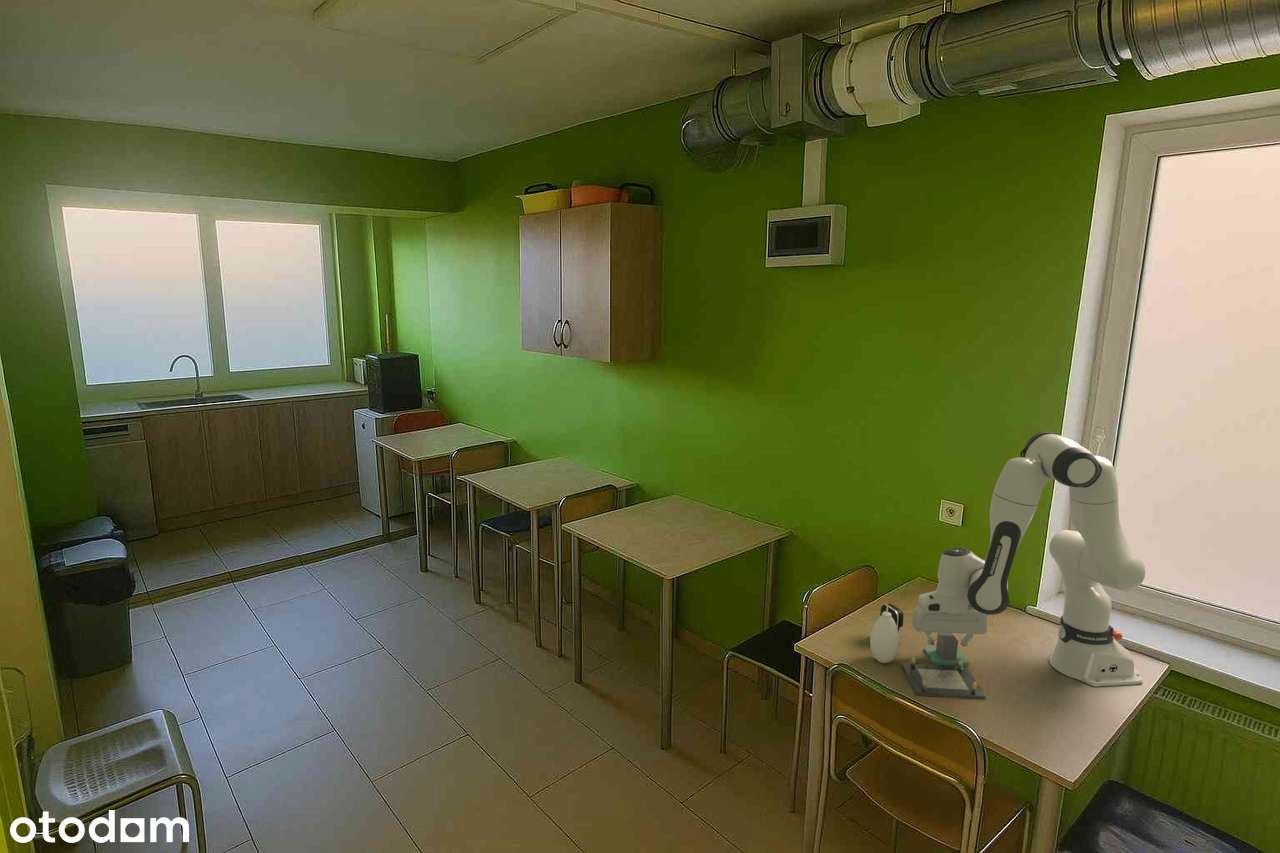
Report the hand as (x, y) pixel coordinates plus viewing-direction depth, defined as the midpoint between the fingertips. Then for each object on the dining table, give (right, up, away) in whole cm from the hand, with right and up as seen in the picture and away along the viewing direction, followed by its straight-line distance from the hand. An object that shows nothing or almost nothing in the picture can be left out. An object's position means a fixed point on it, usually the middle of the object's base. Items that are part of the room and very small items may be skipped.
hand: (947, 644), depth 205 cm
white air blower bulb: (-19, -5, -1) cm, 20 cm away
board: (0, -4, +1) cm, 4 cm away
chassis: (-6, -7, -11) cm, 14 cm away
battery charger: (-13, -2, +10) cm, 17 cm away
